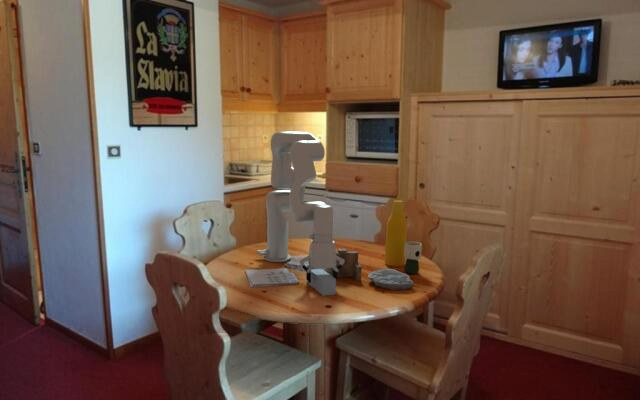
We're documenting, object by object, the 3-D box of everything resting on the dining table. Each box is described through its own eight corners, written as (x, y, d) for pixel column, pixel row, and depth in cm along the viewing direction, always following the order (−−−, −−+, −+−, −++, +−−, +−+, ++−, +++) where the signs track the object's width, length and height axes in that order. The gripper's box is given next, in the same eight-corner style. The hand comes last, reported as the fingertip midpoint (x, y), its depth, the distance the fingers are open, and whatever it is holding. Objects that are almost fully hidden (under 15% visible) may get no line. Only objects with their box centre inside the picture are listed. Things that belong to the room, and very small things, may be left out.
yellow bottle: (399, 268, 208) (402, 203, 203) (380, 264, 214) (383, 200, 209) (408, 263, 215) (412, 201, 211) (390, 259, 221) (394, 198, 216)
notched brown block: (329, 281, 188) (330, 254, 186) (325, 275, 196) (326, 248, 194) (361, 280, 190) (362, 253, 188) (355, 274, 199) (356, 248, 197)
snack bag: (250, 288, 179) (250, 283, 179) (244, 272, 199) (244, 267, 198) (299, 285, 185) (299, 280, 184) (289, 269, 204) (289, 265, 203)
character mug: (414, 277, 196) (416, 247, 194) (398, 274, 200) (400, 244, 198) (424, 271, 205) (426, 242, 203) (409, 268, 209) (410, 239, 207)
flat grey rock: (359, 278, 194) (359, 271, 194) (395, 274, 200) (396, 267, 200) (381, 294, 176) (382, 287, 176) (421, 290, 182) (421, 283, 182)
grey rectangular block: (322, 296, 173) (323, 277, 172) (306, 282, 187) (306, 265, 186) (335, 294, 175) (336, 276, 174) (318, 281, 189) (319, 264, 188)
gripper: (301, 240, 173) (300, 285, 175) (347, 239, 176) (346, 283, 178) (298, 236, 180) (297, 279, 183) (342, 235, 183) (341, 277, 186)
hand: (321, 281), depth 181 cm, fingers open, 9 cm apart
